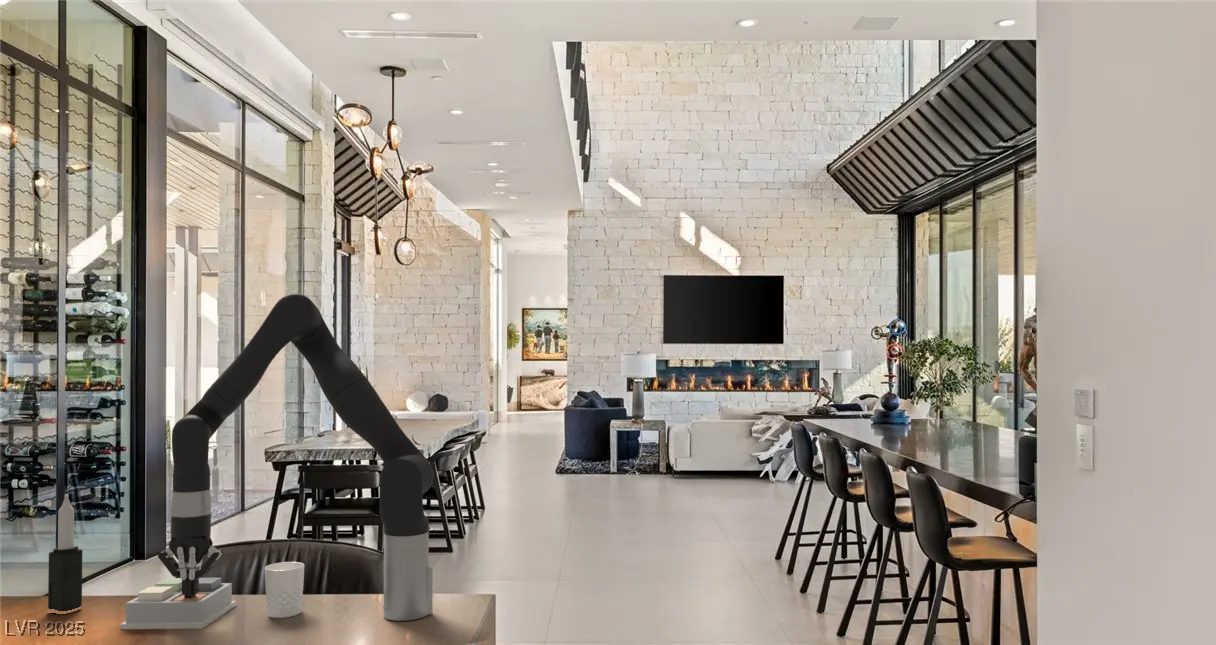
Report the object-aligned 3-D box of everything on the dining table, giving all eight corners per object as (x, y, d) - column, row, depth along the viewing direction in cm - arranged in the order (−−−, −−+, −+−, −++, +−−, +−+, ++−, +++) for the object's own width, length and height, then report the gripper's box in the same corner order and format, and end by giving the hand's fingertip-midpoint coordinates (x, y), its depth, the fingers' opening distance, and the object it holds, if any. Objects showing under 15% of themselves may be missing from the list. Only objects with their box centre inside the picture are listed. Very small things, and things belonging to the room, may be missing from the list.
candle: (84, 608, 193) (85, 492, 194) (63, 615, 188) (64, 496, 189) (66, 606, 194) (68, 491, 195) (45, 613, 190) (46, 495, 190)
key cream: (173, 602, 185) (173, 586, 185) (161, 609, 181) (161, 592, 181) (149, 602, 185) (150, 586, 185) (137, 609, 180) (138, 592, 181)
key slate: (221, 593, 192) (221, 577, 193) (211, 599, 188) (211, 583, 188) (198, 593, 192) (199, 577, 192) (188, 599, 188) (188, 583, 188)
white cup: (310, 608, 192) (310, 561, 192) (293, 619, 184) (294, 570, 184) (275, 608, 192) (275, 561, 193) (257, 618, 185) (257, 570, 185)
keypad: (236, 605, 195) (236, 582, 195) (202, 628, 178) (202, 603, 178) (160, 606, 194) (161, 583, 195) (120, 629, 178) (120, 604, 178)
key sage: (188, 593, 192) (188, 577, 192) (178, 599, 188) (178, 583, 188) (166, 593, 192) (166, 578, 192) (155, 599, 188) (155, 583, 188)
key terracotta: (206, 609, 185) (207, 593, 185) (196, 616, 181) (196, 600, 181) (183, 610, 185) (183, 594, 185) (172, 616, 181) (172, 600, 181)
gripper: (230, 508, 188) (229, 592, 187) (167, 509, 187) (166, 592, 187) (215, 515, 180) (214, 602, 179) (149, 515, 180) (148, 602, 179)
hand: (190, 596), depth 183 cm, fingers closed
